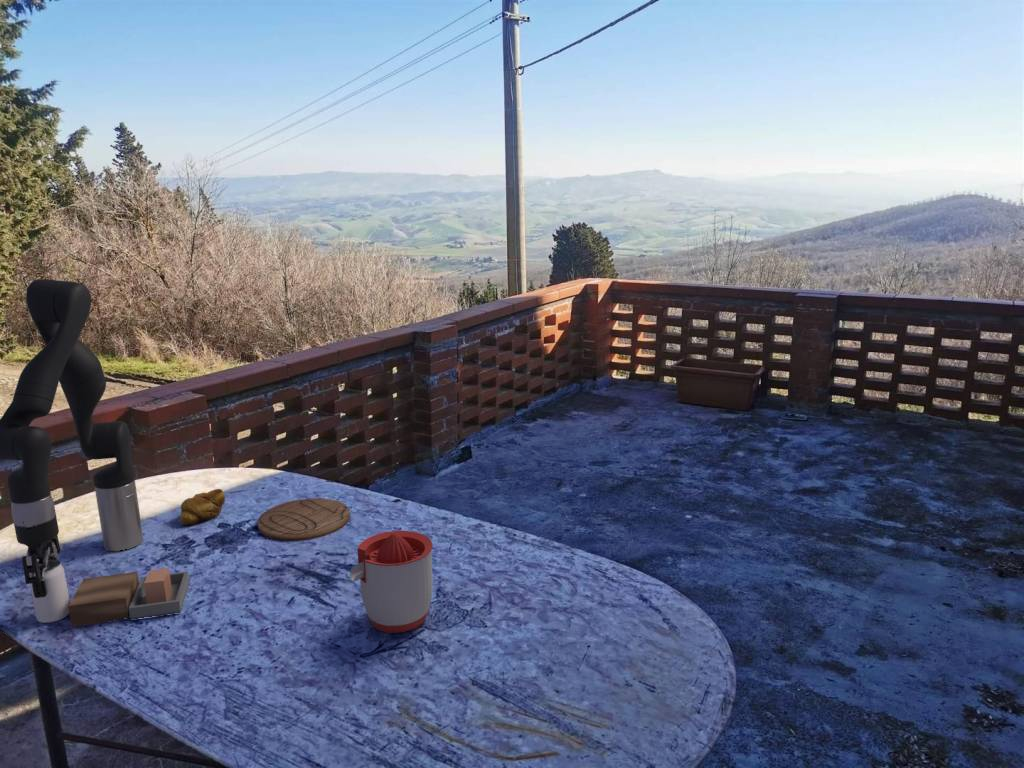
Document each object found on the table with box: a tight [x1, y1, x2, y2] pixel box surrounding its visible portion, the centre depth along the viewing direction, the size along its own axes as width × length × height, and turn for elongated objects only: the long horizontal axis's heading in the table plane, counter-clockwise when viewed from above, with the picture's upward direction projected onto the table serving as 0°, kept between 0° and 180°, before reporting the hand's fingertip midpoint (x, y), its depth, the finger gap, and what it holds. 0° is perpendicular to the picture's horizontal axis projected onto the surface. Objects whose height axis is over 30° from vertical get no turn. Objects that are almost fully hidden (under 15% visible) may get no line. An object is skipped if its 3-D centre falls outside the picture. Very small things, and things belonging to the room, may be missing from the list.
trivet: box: [257, 497, 351, 542], centre depth 206 cm, size 25×25×2 cm
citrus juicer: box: [349, 530, 434, 634], centre depth 154 cm, size 16×17×20 cm
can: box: [29, 559, 71, 624], centre depth 158 cm, size 6×6×12 cm
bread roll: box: [179, 488, 226, 525], centre depth 207 cm, size 13×10×8 cm
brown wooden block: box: [68, 571, 140, 628], centre depth 161 cm, size 12×11×5 cm
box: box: [129, 570, 191, 620], centre depth 165 cm, size 14×10×3 cm
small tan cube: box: [144, 567, 172, 604], centre depth 164 cm, size 6×6×4 cm
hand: (47, 586), depth 158 cm, fingers open, 8 cm apart
